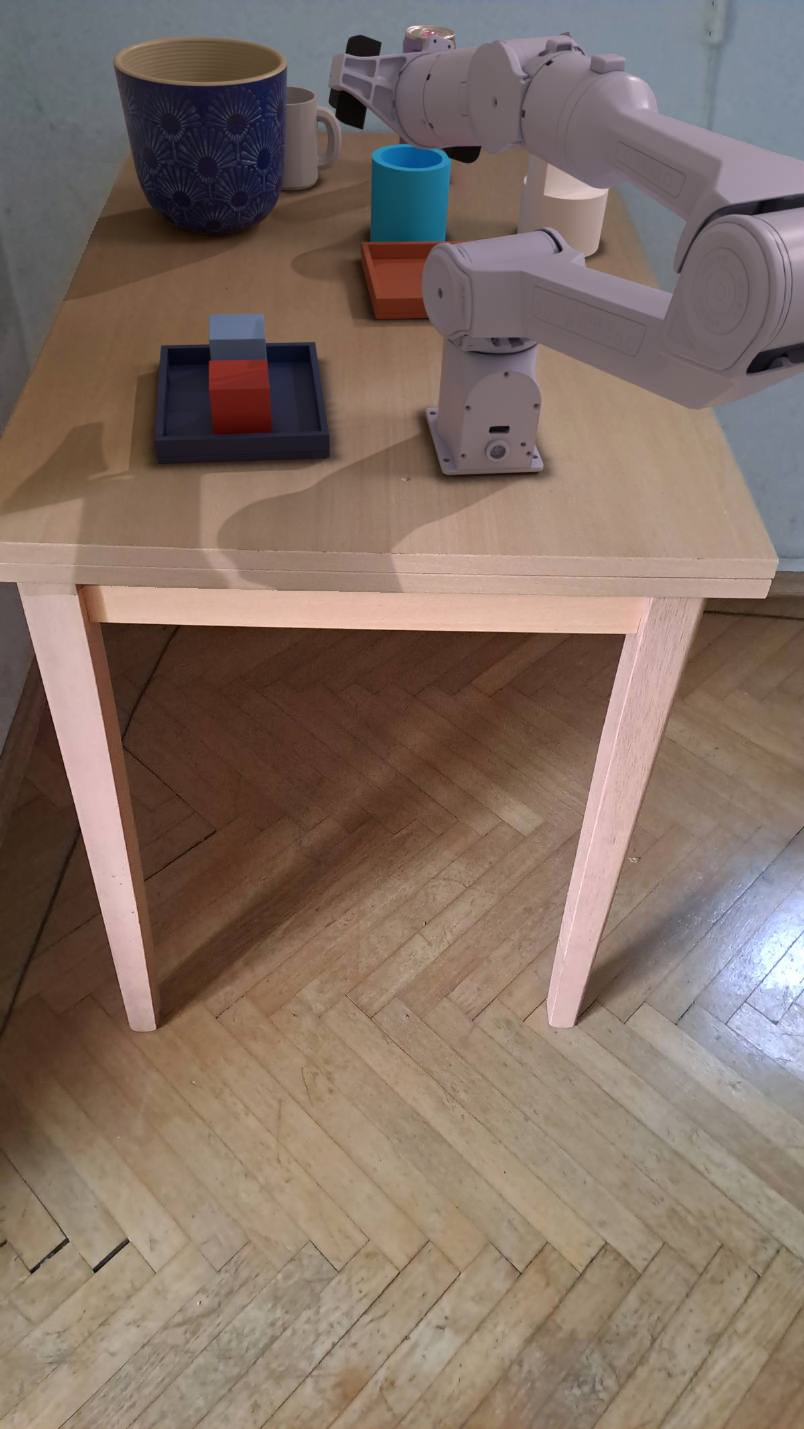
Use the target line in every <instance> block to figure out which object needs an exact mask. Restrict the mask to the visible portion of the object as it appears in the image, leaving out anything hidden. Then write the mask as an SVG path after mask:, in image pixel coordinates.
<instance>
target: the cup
mask: <svg viewBox="0 0 804 1429" xmlns="http://www.w3.org/2000/svg"><path fill="white" fill-rule="evenodd" d="M318 122H319V123H323V124H324V127H325V128H326V132H327V133H326V134H327V146H326V150H325V153H323V155H319V131H318ZM342 137H343V134H342V128H341V123H340V121H339V120H338V119H337V118H336V117H335V113H334V112H333V111H332V110H331V109H330V108H328V107H326V106H323V105H318V96H317V93H316V92H315V91H313V90H311V89H308V88H305V87H303V86H294V85H287V99H286V139H285V170H284V179H283V185H282V189H281V191H301V190H305V189H308V188H311V187H313V186H314V185H316V183H317V181H318V179H319V172H320V171H326V170H329V169H331V168H332V167H333V166H334V165H335V164H336V163H337V161H338V160H339V157H340V155H341V151H342V145H343V144H342V143H343V140H342V139H343V138H342Z"/></svg>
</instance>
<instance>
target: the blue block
mask: <svg viewBox="0 0 804 1429" xmlns="http://www.w3.org/2000/svg"><path fill="white" fill-rule="evenodd" d="M266 343H267V341H266V330H265V318H264V313H222V314H221V313H220V314H217V313H215V314H211V313H210V314H208V344H209V345H210V355H211V361H223V360H265V359H267V357H266Z"/></svg>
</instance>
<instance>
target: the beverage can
mask: <svg viewBox="0 0 804 1429" xmlns="http://www.w3.org/2000/svg"><path fill="white" fill-rule="evenodd" d="M431 35H438V36H440V37H443V38H445V39H448V40H450V41H451V42H452V43H453V45H454V50H457V41H456V31H454V30H453V29H451V28H448V27H446V26H445V27H444V26H439V25H431V24H430V25H429V24H427V25H426V24H423V25H422V24H421V25H413V26H409V27H407V28H406V29H405V30H404V38H403V41H402V54H403V53H414V52H421V51H422V50H423V49H424V46H425V41H426V39H427V37H429V36H431ZM398 142H399V143H398V144H408V143H407V142H406V141H404V140H403V139H402V138H401V137H400V136H399V141H398ZM439 150H441V151H444V150H443V149H442V148H439Z"/></svg>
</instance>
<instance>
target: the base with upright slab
mask: <svg viewBox="0 0 804 1429" xmlns="http://www.w3.org/2000/svg"><path fill="white" fill-rule="evenodd" d="M609 190H610V188H608V189H597V188H593V187H590V186H589V185H587V184H585V183H583V182H581V181H579V180H578V179H576V178H574V177H573V176H571V175H569V174H567V173H565V172H563V171H562V170H560V169H558V168H556V167H554V166H552V165H551V164H549V163H547V162H545V161H543V160H541V159H540V158H538V157H536V156H534V155H532V154H531V153H529V157H528V165H527V172H526V175H525V176H524V177H523V181H522V190H521V198H520V206H519V214H518V225H517V230H516V234H521V233H527V232H533V231H534V230H536V229H539V228H543V227H549V228H553V229H554V230H556V231H557V232H558V233H559V234H560V235H561V236H562V237H563V239H564V240H565V242H566V243H567V244H568V245H569V246H570V247H571V248H573V249H575V250H578V251H581V252H583V253H584V257H585V258H586V257H590V256H592V255H593V254H595V253H596V252H597V250H598V249H599V244H600V239H601V233H602V228H603V224H604V219H605V218H604V217H605V211H606V206H607V201H608V195H609Z"/></svg>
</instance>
